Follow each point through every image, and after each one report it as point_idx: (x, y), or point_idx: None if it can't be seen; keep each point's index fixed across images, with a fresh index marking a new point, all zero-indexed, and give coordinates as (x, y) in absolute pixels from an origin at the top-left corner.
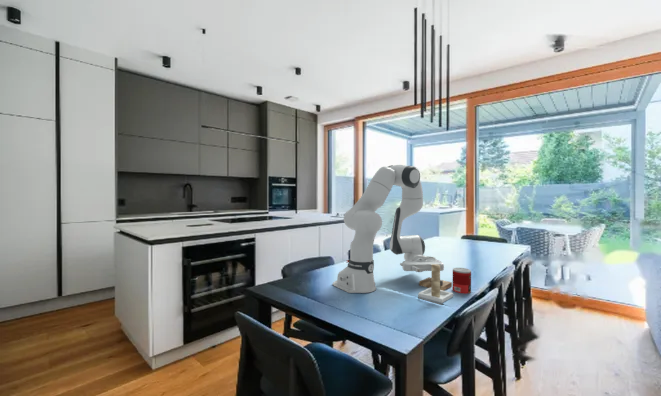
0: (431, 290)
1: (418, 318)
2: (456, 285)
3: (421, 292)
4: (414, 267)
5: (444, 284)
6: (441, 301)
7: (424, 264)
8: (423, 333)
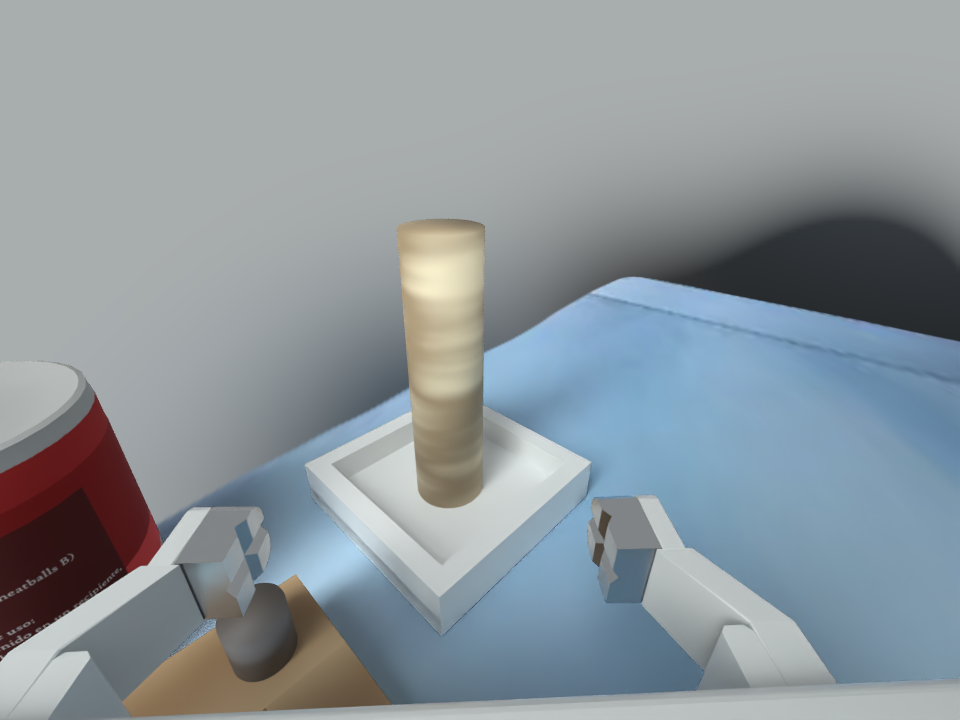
0: (482, 451)
1: (595, 343)
2: (155, 528)
3: (563, 470)
4: (706, 564)
5: (185, 676)
6: None
7: (402, 706)
8: (585, 303)
